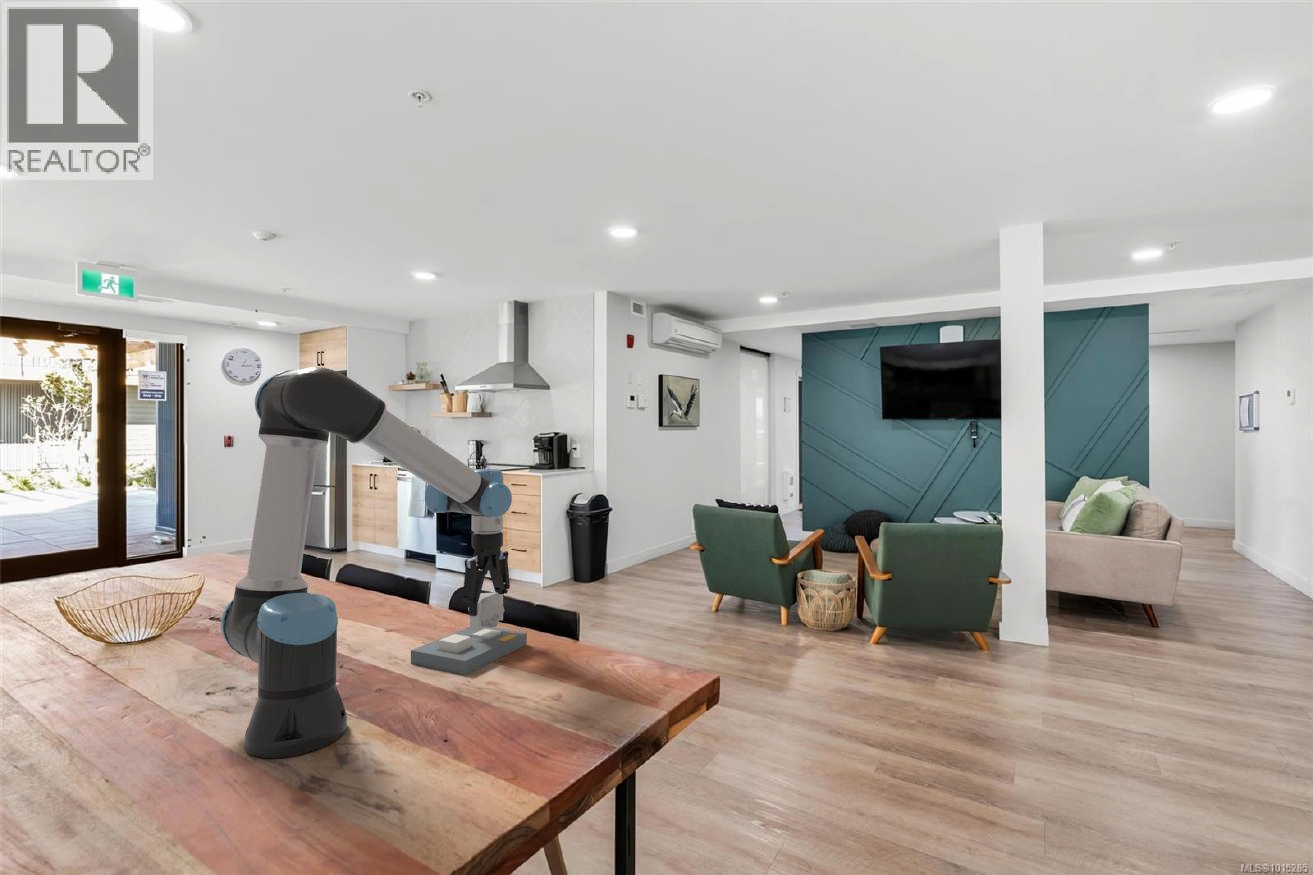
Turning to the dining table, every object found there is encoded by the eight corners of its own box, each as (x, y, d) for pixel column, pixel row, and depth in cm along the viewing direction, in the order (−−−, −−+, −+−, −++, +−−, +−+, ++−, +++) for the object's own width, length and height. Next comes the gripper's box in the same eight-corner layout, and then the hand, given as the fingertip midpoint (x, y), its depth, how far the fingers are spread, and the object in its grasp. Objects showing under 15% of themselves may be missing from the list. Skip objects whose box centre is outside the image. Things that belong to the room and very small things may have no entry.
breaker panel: (465, 674, 134) (465, 660, 134) (410, 663, 141) (410, 649, 141) (526, 644, 154) (526, 631, 154) (476, 635, 161) (476, 623, 161)
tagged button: (487, 650, 149) (488, 637, 149) (471, 647, 151) (471, 634, 151) (501, 644, 153) (501, 631, 153) (485, 641, 156) (485, 628, 156)
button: (455, 657, 139) (455, 643, 139) (438, 654, 141) (438, 640, 141) (470, 650, 143) (471, 636, 143) (454, 647, 146) (454, 633, 146)
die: (487, 635, 146) (510, 599, 150) (457, 617, 147) (481, 581, 151) (492, 637, 154) (513, 603, 158) (463, 619, 155) (485, 586, 158)
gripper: (470, 538, 142) (470, 638, 141) (524, 527, 160) (524, 615, 160) (445, 536, 145) (445, 633, 145) (501, 525, 163) (501, 611, 163)
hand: (486, 623), depth 152 cm, fingers closed on die, 7 cm apart
